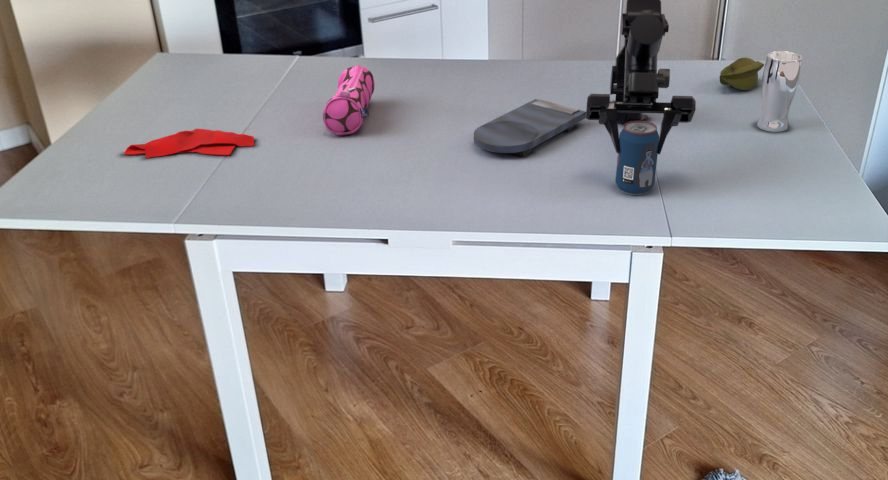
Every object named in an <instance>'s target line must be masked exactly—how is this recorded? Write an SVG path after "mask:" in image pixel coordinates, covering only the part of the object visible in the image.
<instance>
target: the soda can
mask: <svg viewBox="0 0 888 480" xmlns="http://www.w3.org/2000/svg"><path fill="white" fill-rule="evenodd" d="M659 136H660V133H659V132H658V126H657V125H656V124H655V123H653V122H650V121H646V120H644V121H630V122H627V123H625V124H623V128H622V130H621V131H620V133H619V153H617V157H616V158H617V159H616V170H615V184H616V186H617V188H618V190H619V191H620V192H621V193H623V194H626V195H630V196H642V195H647V194H648V193H649V192H650V191H651V190H652V189H653V187H655V184H656V183H655V182H656V172H657V162H658V155H659V154H658V145H659Z"/></svg>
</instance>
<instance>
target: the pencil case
mask: <svg viewBox="0 0 888 480" xmlns="http://www.w3.org/2000/svg"><path fill="white" fill-rule="evenodd" d="M374 91H375V77H374V75H373V73H372V72H371V71H370V69H368V68H367V67H366V66H361V65H359V64H357V65H353V66H349V67H347V68H345V69H344V70H343V71H342V72H341V74H339V78H338V81H337V90H336V93H335V95H334V96H331V98H330V99H328V101H327V102H326V103H325V106H324V108H323V113H322V121H323V124H324V127H325V128H326V130H327V131H328V132H330V133H331V134H333V135H335V136H348V135H352V134H354V133H356V132H358V131H359V130H360V129H361V127H362V125H363V123H364V117H366V116H370V111H369V109H368V108H369V105H370V101H371V99H372V96H373V94H374Z"/></svg>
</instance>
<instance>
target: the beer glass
mask: <svg viewBox="0 0 888 480" xmlns="http://www.w3.org/2000/svg"><path fill="white" fill-rule="evenodd" d="M802 60H803V55H801V54H799V53H797V52H793V51H788V50H787V51H786V50H784V51H783V50H774V51H771V52H769V53H767V55H766V60H765V64H764V67H763V74H762V81H761V110H760V114H759V117H758V120H757V122H756V126H757V128H758V129H760V130H762V131H765V132H769V133H781V132H785V131H787V130H788V129H789V112H790V108H791V105H792V103H793V99H794V98H795V95H796V91H797V89H798V86H799V81H800V79H801V78H800V77H801V70H802V62H803V61H802Z"/></svg>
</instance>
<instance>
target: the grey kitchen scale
mask: <svg viewBox="0 0 888 480" xmlns="http://www.w3.org/2000/svg"><path fill="white" fill-rule="evenodd" d="M583 120H586V110H581V109H580V108H576V107H572V106H568V105H564V104H560V103H556V102H552V101H548V100H544V99H537V98H535V99H533V100H530V101H528V102H526V103H524V104H523V105H520V106H518V107H516V108H515V109H512V110H510V111H507V112H506V113H504V114H502V115H500V116H498V117H495V118H494V119H492V120H490V121H488V122H486V123H483V124H482V125H480V126H478V127H477V128H476V129H475V130H474V131H473V143H474V144H475V146H476V147H478V148H480V149H482V150H484V151H488V152H491V153H498V154H514V155H517V156H521V157H524V156H526V155H528V154H530V153H531V149H533V148H535V147H537V146H539V145H540V144H542V143H544V142H546V141H547V140H549V139H551V138H553V137H554V136H557V135H558V134H560V133H562V132H564V131H565V132H570V131H572V130H573V129H575V125H576V124H578V123H581V122H582V121H583Z"/></svg>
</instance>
